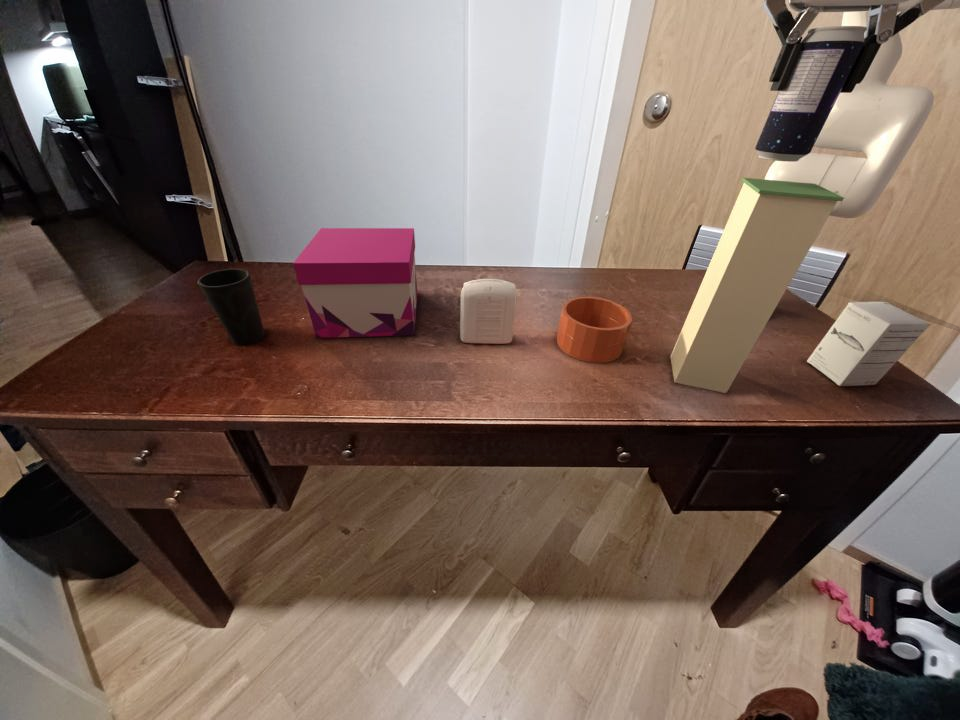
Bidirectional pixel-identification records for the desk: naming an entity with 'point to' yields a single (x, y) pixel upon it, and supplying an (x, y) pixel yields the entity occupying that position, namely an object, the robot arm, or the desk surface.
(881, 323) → the white packaging box
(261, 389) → the desk surface
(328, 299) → the decorative box
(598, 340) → the pot
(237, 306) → the cup
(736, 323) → the plant stand
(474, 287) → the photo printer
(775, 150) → the beverage can
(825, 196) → the mat
